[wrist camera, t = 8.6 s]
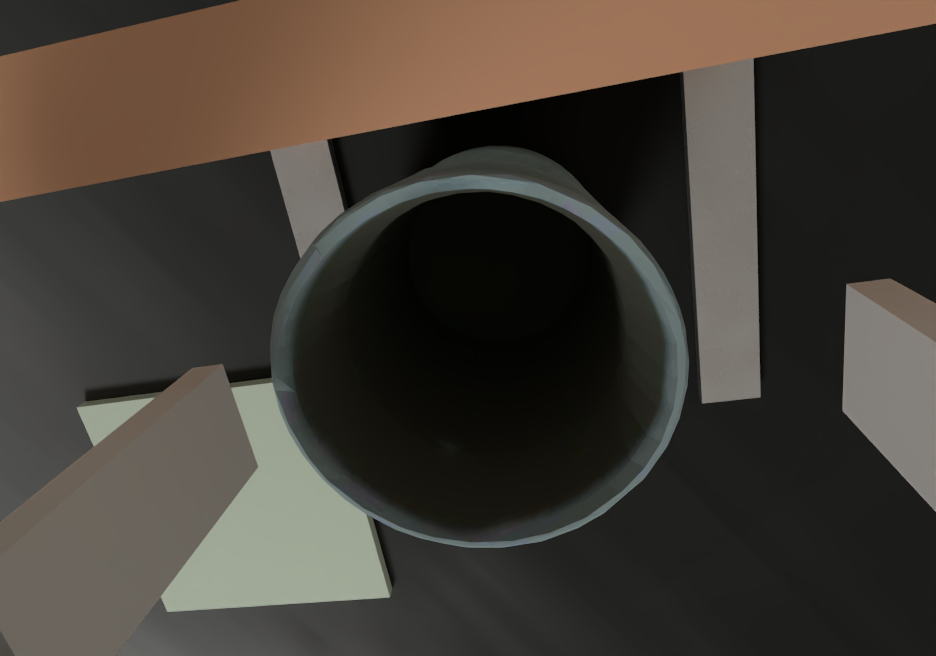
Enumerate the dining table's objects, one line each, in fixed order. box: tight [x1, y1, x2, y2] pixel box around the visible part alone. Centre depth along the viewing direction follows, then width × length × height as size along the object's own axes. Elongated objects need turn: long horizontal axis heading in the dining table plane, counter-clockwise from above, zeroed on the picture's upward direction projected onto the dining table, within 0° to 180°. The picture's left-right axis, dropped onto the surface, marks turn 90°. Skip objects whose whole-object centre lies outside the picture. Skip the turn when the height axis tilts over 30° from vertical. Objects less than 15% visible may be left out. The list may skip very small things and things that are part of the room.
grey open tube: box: [270, 146, 689, 548], centre depth 20 cm, size 10×10×12 cm
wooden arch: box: [0, 0, 936, 202], centre depth 15 cm, size 18×2×15 cm, turn 100°
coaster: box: [77, 378, 392, 612], centre depth 32 cm, size 13×13×1 cm
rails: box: [270, 58, 760, 403], centre depth 25 cm, size 18×15×1 cm
